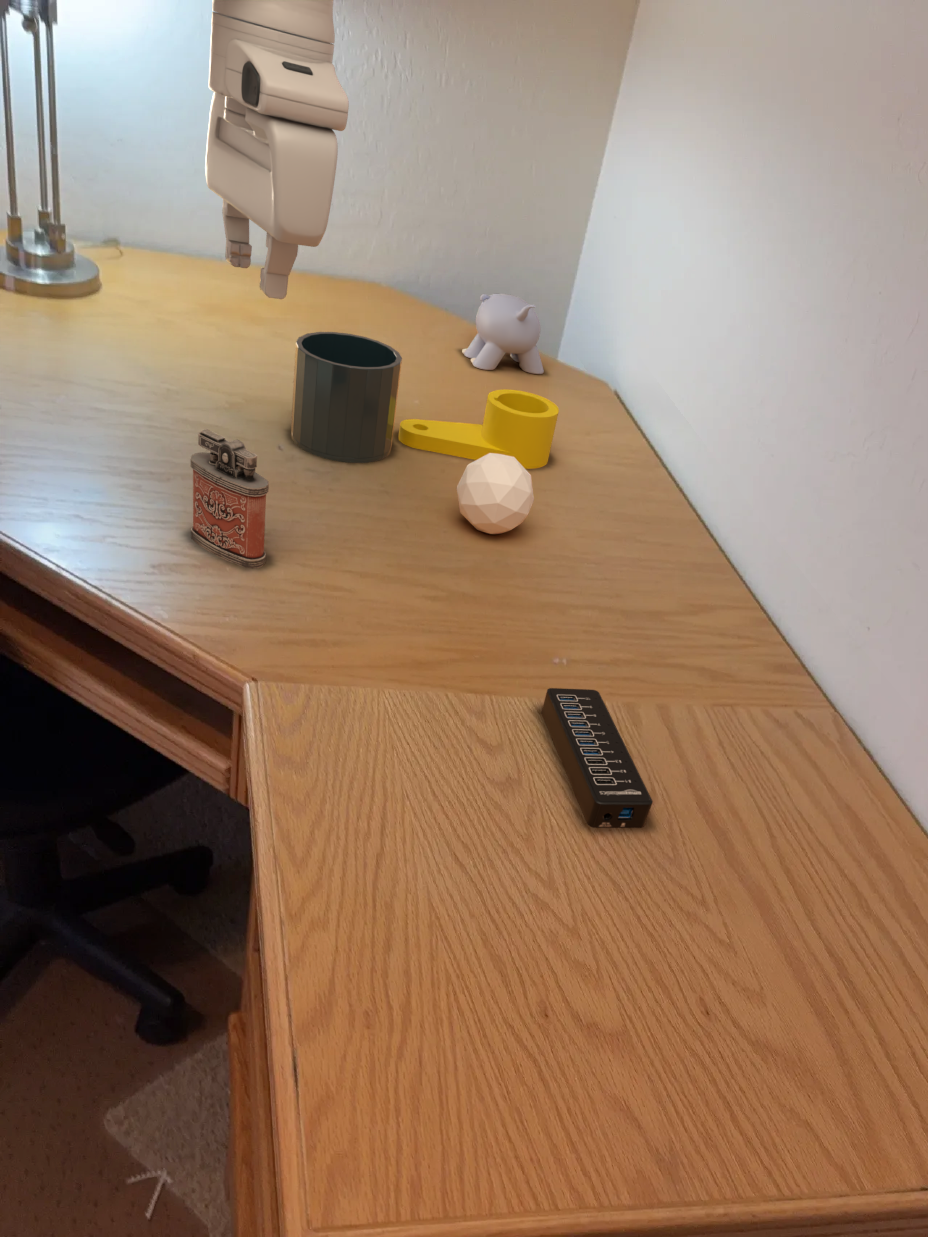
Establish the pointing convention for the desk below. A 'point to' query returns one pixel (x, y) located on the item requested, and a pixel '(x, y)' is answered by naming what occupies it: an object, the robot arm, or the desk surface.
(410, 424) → the crank
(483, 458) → the geometric ball
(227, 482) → the lighter
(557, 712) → the multiport hub
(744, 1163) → the desk surface
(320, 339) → the pen cup
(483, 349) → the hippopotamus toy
